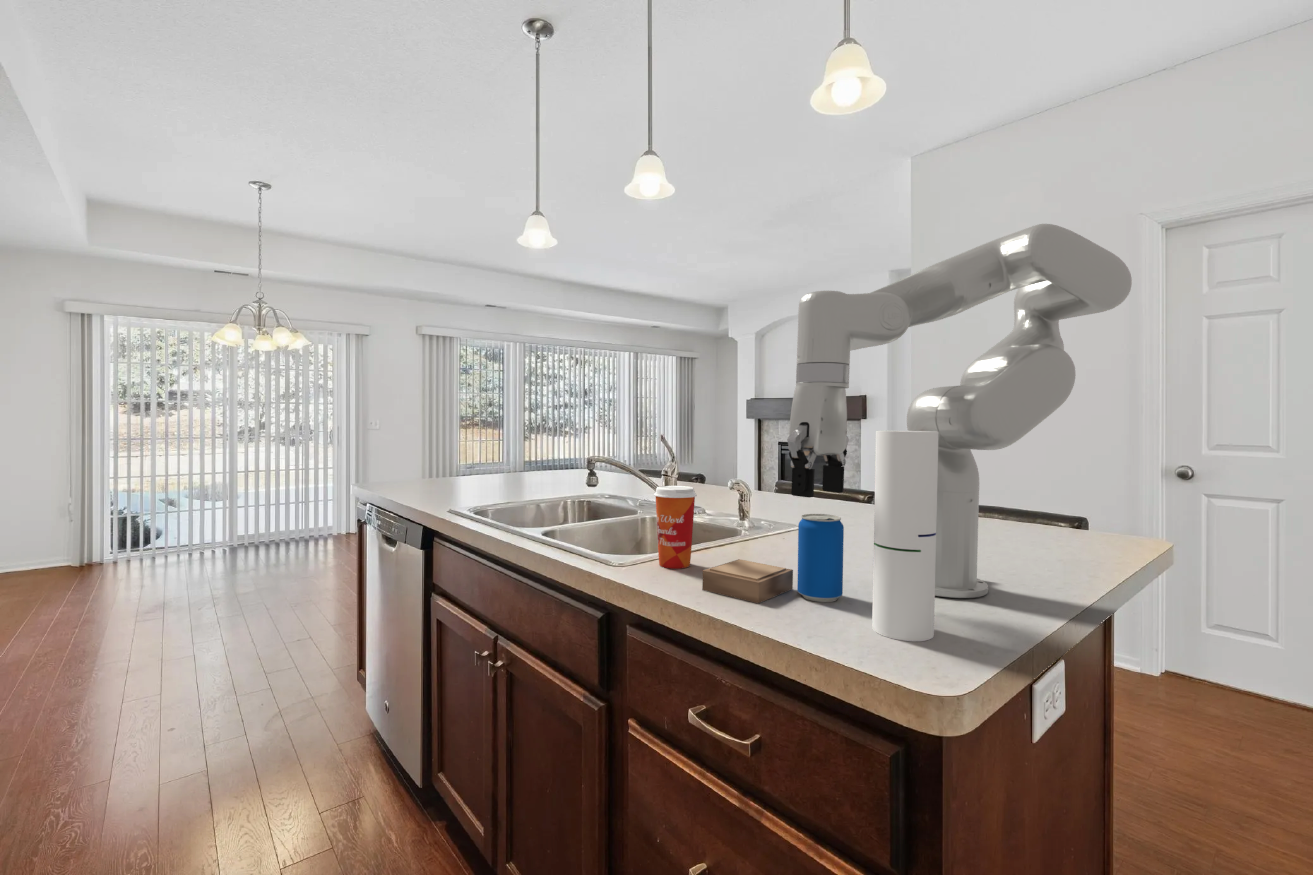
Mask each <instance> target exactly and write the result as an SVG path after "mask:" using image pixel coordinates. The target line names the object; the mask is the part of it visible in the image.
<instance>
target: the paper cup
mask: <svg viewBox="0 0 1313 875" xmlns="http://www.w3.org/2000/svg"><path fill="white" fill-rule="evenodd" d="M653 496H655V511H656V514H655V515H656V535H657V552H658V565H659V566H660V567H661V568H663V567H664V569H668V570H669V569H670V570H671V569H672V570H681V569H687V568H689V567H690V565H691V558H692V546H693V545H692V544H693V530H694V519H695V518H694V515H695V498H696V497H697V493H696V492H695V489H694V487H692V486H687V485H685V486H684V485H662V486H657V487H656V489H655V492H654V493H653Z"/></svg>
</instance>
